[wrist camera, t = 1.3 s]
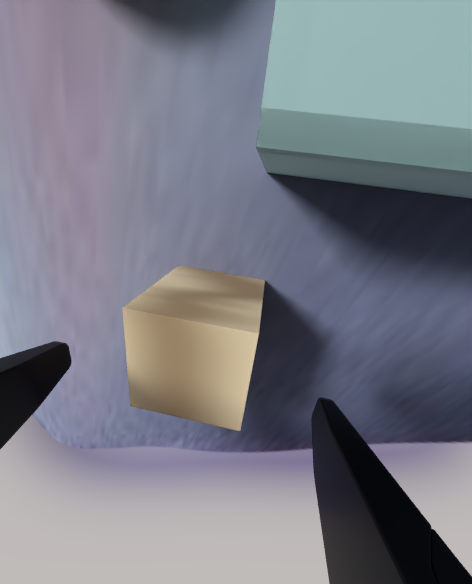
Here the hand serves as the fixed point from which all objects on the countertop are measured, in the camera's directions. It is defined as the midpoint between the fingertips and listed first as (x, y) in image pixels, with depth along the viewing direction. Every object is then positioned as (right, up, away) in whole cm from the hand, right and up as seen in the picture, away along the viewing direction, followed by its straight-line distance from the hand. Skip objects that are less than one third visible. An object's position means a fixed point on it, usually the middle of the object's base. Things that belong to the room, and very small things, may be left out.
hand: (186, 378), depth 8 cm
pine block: (+1, +2, +5) cm, 5 cm away
